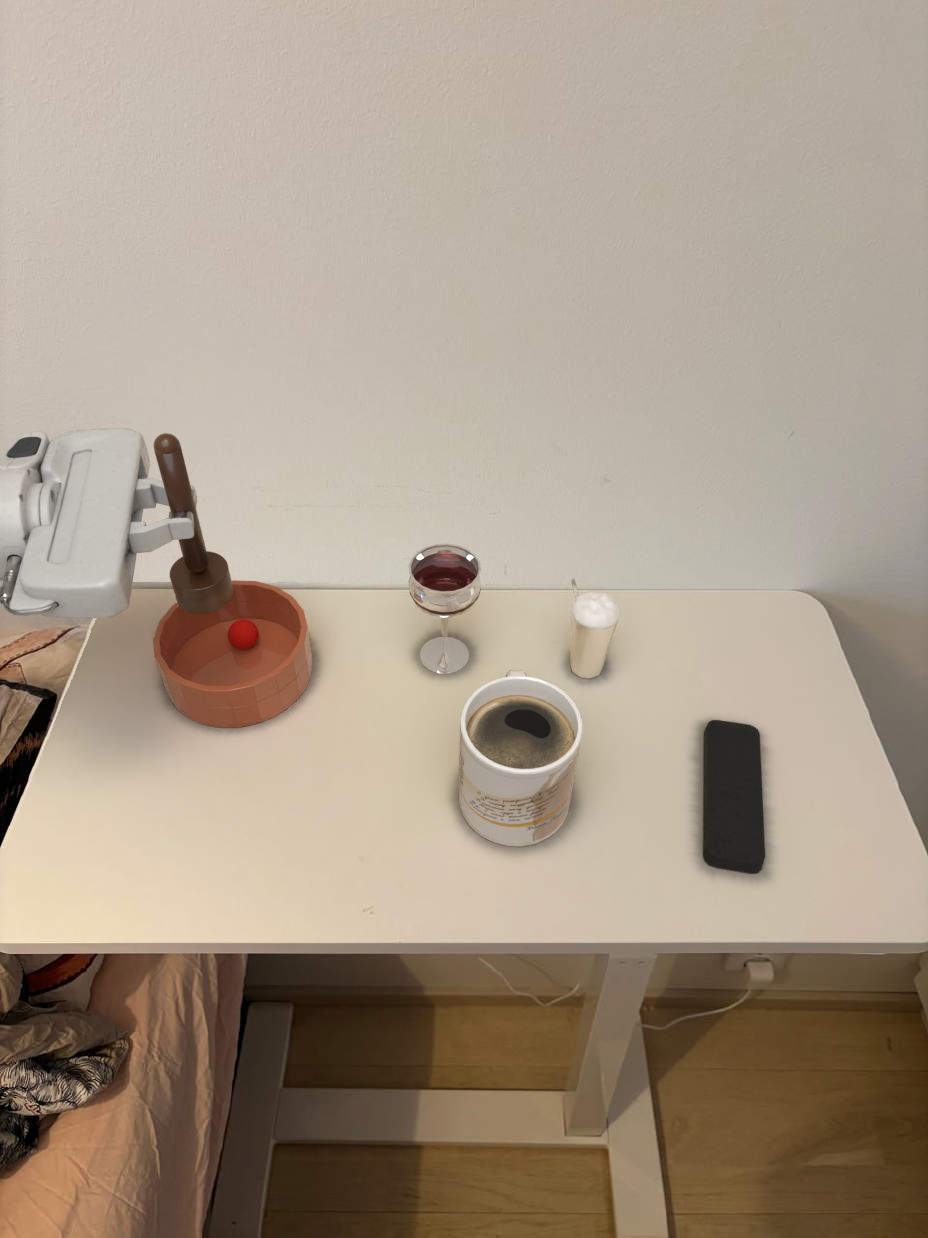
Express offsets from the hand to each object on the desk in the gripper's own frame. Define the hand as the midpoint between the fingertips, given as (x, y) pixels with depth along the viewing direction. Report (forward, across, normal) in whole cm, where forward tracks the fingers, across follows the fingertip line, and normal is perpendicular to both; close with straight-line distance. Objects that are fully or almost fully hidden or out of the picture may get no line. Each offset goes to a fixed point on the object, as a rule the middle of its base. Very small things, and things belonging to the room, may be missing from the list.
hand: (194, 510), depth 77 cm
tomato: (+1, +3, +19) cm, 19 cm away
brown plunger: (-1, 0, +10) cm, 10 cm away
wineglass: (+21, 0, +21) cm, 29 cm away
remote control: (+44, -20, +21) cm, 53 cm away
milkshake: (+34, -3, +21) cm, 40 cm away
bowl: (0, +1, +21) cm, 21 cm away
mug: (+25, -16, +21) cm, 37 cm away
